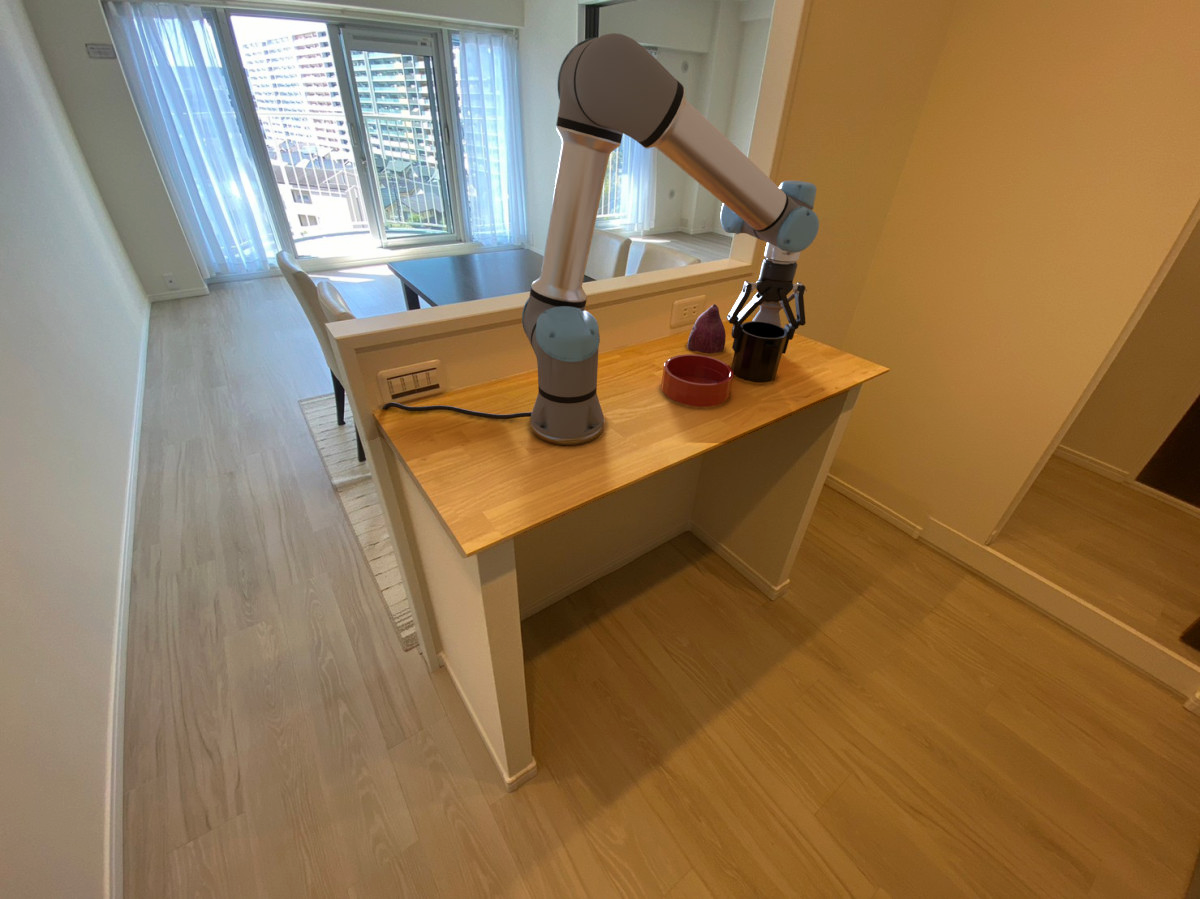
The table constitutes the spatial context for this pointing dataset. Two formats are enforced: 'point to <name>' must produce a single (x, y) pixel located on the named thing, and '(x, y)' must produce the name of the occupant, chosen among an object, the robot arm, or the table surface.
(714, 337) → the vegetable
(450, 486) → the table surface
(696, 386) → the casserole
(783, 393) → the table surface
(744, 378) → the black cylindrical cup
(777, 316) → the coffee pot
